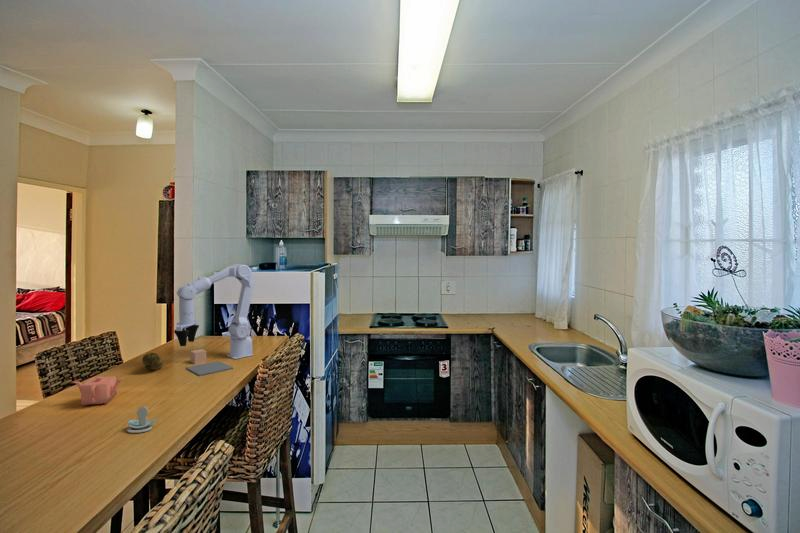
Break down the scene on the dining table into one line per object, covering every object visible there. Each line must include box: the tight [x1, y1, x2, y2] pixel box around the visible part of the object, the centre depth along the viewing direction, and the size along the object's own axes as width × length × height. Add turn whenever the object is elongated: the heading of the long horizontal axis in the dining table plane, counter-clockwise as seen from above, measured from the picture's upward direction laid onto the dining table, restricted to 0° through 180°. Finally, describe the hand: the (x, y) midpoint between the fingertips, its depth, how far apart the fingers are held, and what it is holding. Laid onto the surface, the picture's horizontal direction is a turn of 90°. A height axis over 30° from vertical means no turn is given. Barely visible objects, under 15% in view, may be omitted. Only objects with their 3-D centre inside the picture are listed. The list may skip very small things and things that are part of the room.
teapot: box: [72, 375, 126, 406], centre depth 138 cm, size 12×15×8 cm
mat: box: [185, 360, 234, 377], centre depth 175 cm, size 14×14×1 cm
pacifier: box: [126, 406, 158, 434], centre depth 118 cm, size 7×6×6 cm
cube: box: [189, 348, 207, 365], centre depth 185 cm, size 5×5×5 cm
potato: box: [142, 352, 164, 371], centre depth 172 cm, size 8×13×8 cm, turn 7°
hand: (187, 343), depth 179 cm, fingers open, 7 cm apart
